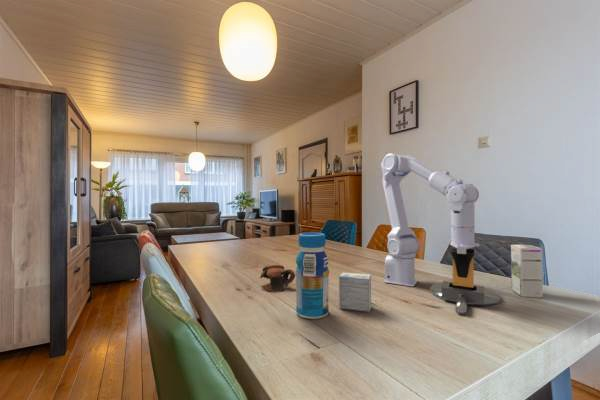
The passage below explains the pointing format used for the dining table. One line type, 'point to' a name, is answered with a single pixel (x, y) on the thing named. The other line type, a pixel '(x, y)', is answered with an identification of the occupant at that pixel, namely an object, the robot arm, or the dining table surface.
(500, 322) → the dining table surface
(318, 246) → the beverage bottle
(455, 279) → the orange rectangular block
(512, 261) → the syrup box
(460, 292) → the rosette joint
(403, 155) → the robot arm
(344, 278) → the medicine box
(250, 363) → the dining table surface
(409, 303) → the dining table surface
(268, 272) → the pottery mug
